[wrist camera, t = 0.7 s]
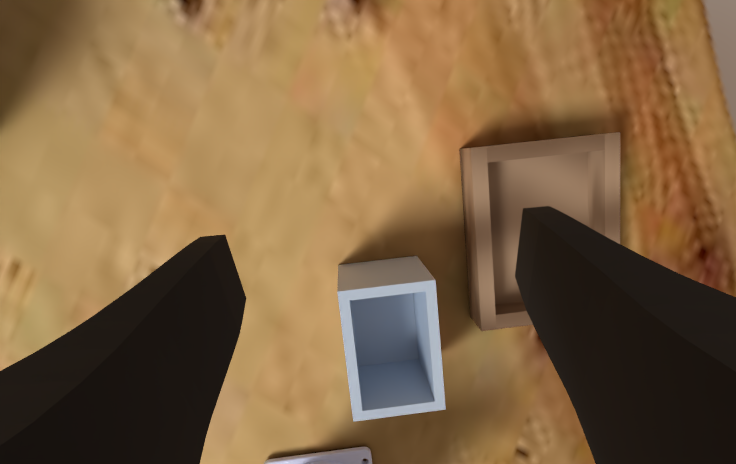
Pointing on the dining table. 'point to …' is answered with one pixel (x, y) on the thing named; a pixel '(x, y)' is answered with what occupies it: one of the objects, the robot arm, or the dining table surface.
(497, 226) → the shallow brown tray
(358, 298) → the small crate
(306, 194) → the dining table surface
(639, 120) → the dining table surface
